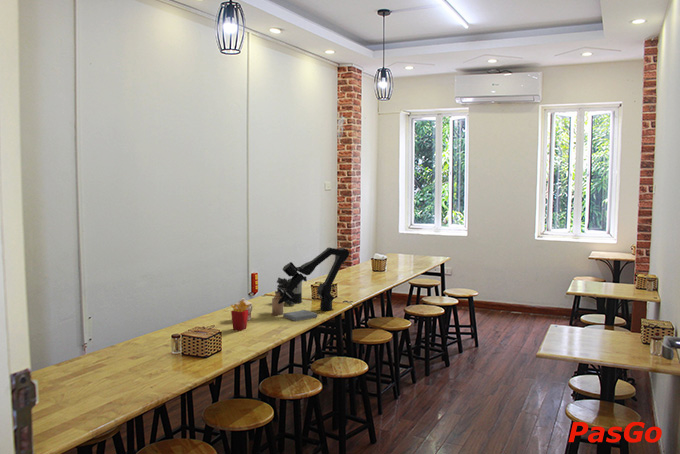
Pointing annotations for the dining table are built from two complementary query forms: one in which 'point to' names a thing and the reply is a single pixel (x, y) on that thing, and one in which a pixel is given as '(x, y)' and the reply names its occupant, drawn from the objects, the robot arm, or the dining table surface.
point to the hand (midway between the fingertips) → (276, 301)
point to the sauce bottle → (277, 308)
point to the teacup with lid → (246, 308)
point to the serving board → (300, 315)
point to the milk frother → (296, 295)
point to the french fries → (240, 316)
